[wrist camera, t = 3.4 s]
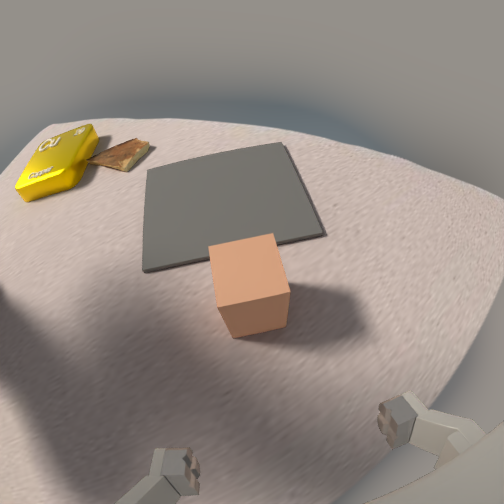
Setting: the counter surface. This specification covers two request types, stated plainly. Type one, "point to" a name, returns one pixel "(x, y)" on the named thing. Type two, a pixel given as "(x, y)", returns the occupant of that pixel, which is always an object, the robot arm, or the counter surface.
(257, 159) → the charcoal mat
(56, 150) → the element tile
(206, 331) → the counter surface
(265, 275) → the terracotta block
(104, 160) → the shard
